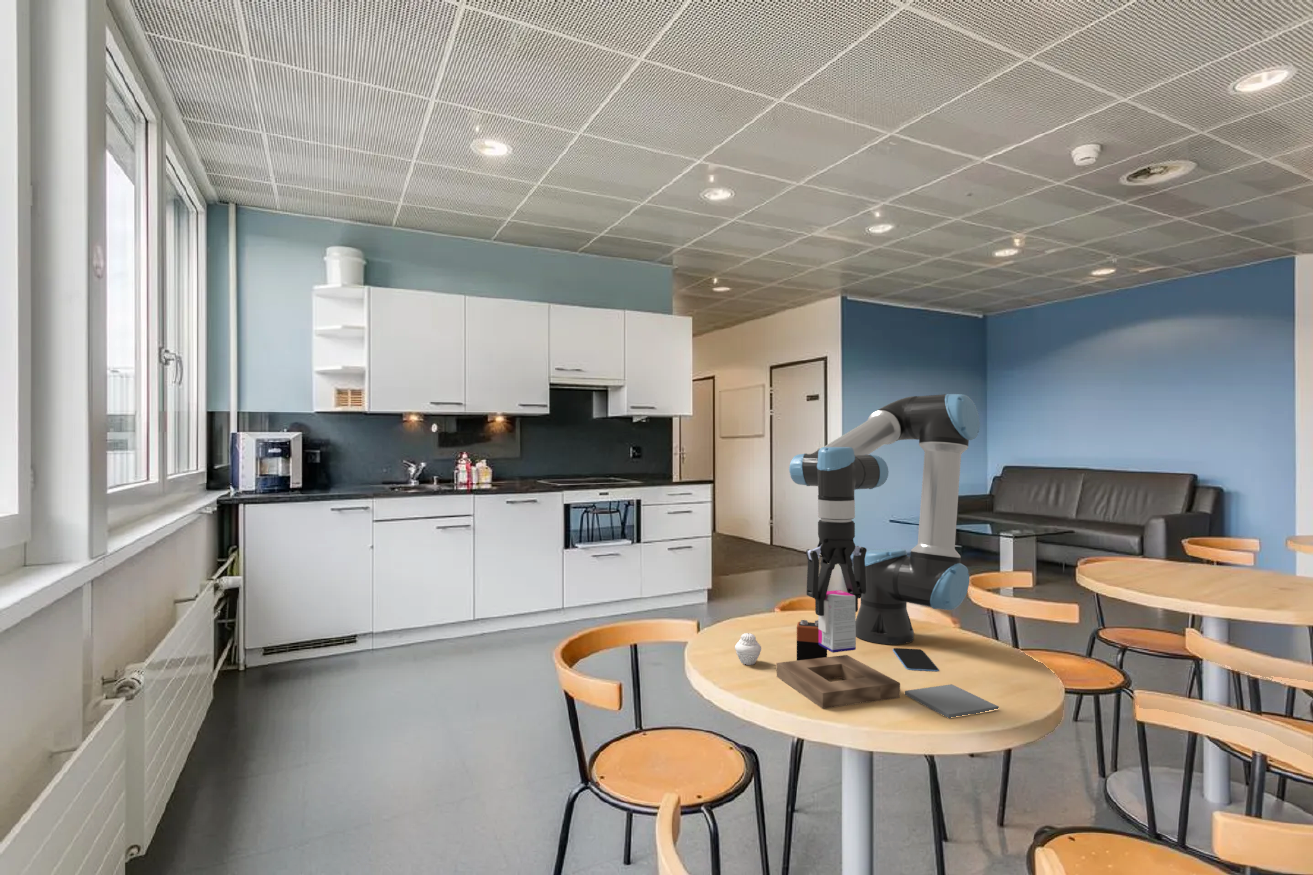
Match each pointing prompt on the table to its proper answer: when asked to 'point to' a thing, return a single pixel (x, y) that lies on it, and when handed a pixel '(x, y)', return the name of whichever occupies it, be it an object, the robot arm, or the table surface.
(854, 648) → the supplement box
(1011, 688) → the table surface
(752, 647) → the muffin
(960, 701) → the mat
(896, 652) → the smartphone
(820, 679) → the holder
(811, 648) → the battery
